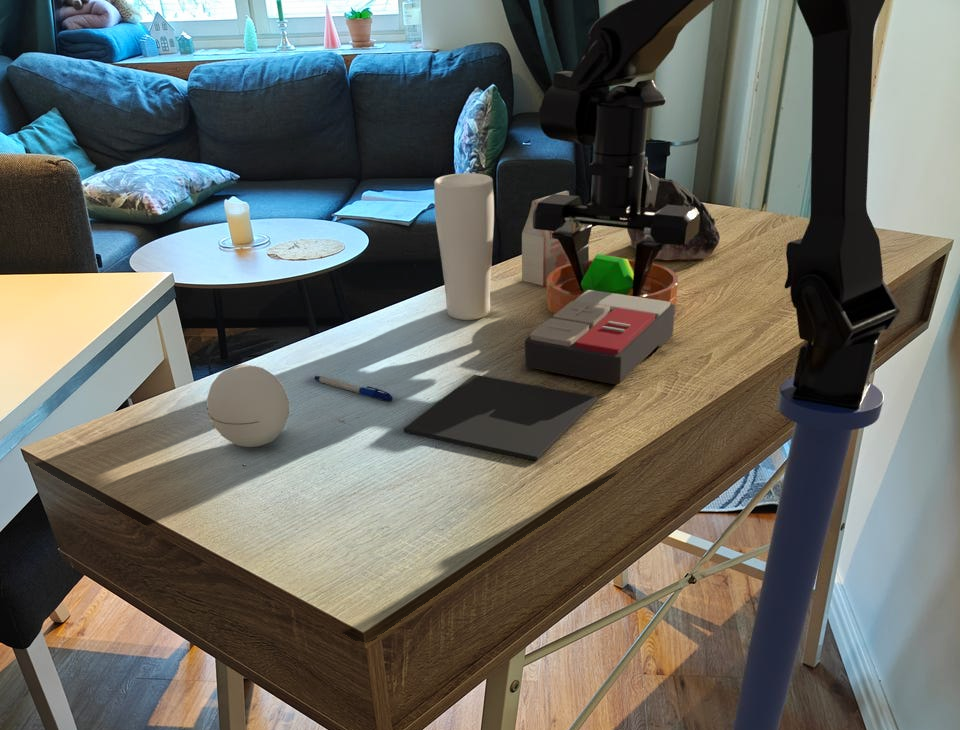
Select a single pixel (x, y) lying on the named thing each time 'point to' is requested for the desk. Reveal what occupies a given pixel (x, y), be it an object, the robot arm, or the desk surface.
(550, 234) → the white gabled box
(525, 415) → the mat
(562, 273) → the bowl
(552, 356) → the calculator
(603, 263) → the green polyhedron
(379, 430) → the desk surface
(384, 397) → the ballpoint pen
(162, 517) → the desk surface
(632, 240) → the crystal cluster
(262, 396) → the seamed sphere
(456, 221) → the drinking glass
